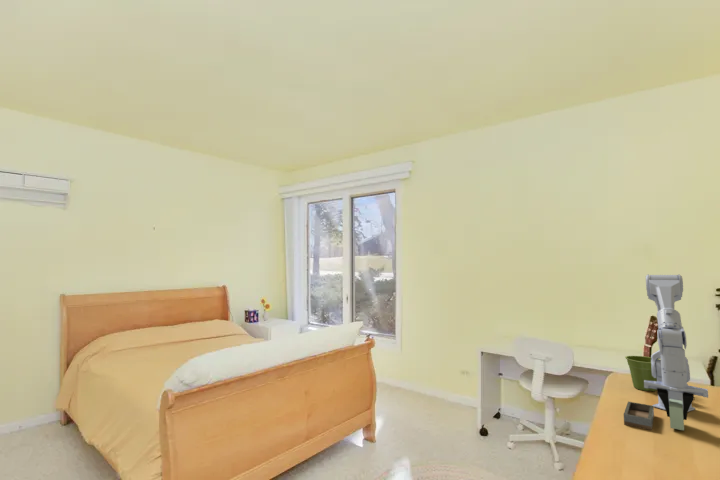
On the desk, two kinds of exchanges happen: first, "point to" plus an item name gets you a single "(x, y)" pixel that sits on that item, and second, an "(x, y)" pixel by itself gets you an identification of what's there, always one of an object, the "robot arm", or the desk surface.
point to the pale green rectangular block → (676, 414)
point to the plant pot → (640, 371)
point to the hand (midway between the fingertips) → (676, 417)
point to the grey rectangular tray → (639, 415)
